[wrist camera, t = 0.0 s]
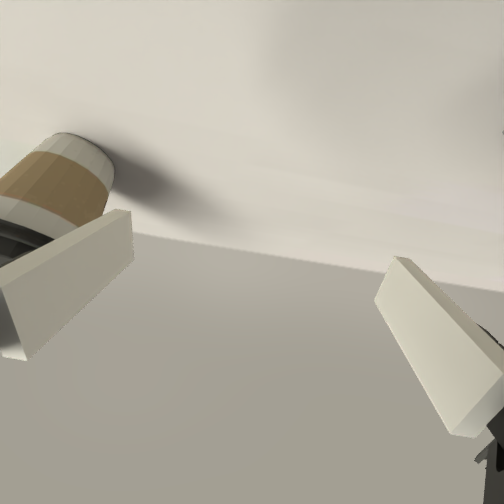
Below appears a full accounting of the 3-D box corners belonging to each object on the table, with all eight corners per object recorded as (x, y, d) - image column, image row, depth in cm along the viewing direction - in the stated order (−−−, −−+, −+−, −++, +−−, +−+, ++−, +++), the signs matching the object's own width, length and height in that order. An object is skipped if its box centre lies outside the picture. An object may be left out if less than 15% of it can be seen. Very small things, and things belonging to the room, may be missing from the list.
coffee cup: (104, 199, 38) (53, 294, 31) (12, 140, 30) (-85, 251, 23) (151, 175, 32) (100, 288, 25) (51, 93, 24) (-65, 226, 17)
